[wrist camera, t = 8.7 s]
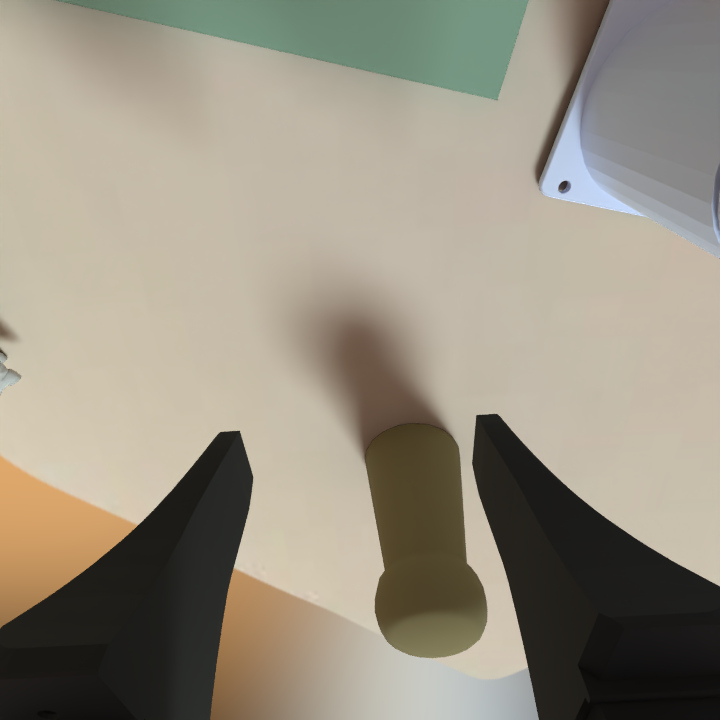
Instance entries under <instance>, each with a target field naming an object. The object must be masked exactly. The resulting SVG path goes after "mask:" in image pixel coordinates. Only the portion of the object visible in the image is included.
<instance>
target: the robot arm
mask: <svg viewBox="0 0 720 720" xmlns="http://www.w3.org/2000/svg"><path fill="white" fill-rule="evenodd" d="M563 181H567V182H568V184H567V187H566V188H565V189H564V190H563V191H558V186H559V185H560V183H561V182H563ZM538 186H539V190H540V191H541V193H542V194H544V195H546V196H548V197H552V198H557V199H562V200H567V201H572V202H576V203H581V204H586V205H591V206H596V207H601V208H606V209H611V210H615V211H620V212H625V213H630V214H635V215H640V216H645V217H648V218H649V219H651V220H653V221H655V222H656V223H658V224H660V225H662V226H663V227H665V228H667V229H669V230H670V231H672V232H674V233H676V234H677V235H679V236H681V237H682V238H684V239H686V240H688V241H689V242H691V243H693V244H695V245H696V246H698V247H700V248H702V249H703V250H705V251H707V252H708V253H710V254H712V255H714V256H715V257H717V258H719V259H720V0H610V2H609V5H608V7H607V10H606V12H605V15H604V17H603V20H602V22H601V25H600V28H599V30H598V33H597V35H596V38H595V40H594V43H593V45H592V48H591V50H590V53H589V56H588V58H587V61H586V63H585V66H584V68H583V71H582V73H581V76H580V78H579V81H578V84H577V86H576V89H575V91H574V94H573V96H572V99H571V101H570V104H569V106H568V109H567V112H566V114H565V117H564V119H563V122H562V124H561V127H560V129H559V132H558V134H557V137H556V140H555V142H554V145H553V147H552V150H551V152H550V155H549V157H548V160H547V163H546V165H545V168H544V170H543V173H542V175H541V178H540V180H539V185H538ZM472 465H473V470H474V474H475V479H476V484H477V488H478V492H479V496H480V499H481V502H482V505H483V508H484V511H485V514H486V516H487V519H488V522H489V525H490V528H491V531H492V533H493V536H494V539H495V542H496V545H497V548H498V550H499V553H500V556H501V559H502V562H503V565H504V568H505V572H506V575H507V578H508V582H509V586H510V590H511V594H512V598H513V602H514V607H515V611H516V615H517V619H518V624H519V628H520V632H521V636H522V641H523V645H524V650H525V654H526V659H527V664H528V668H529V673H530V678H531V682H532V686H533V692H534V697H535V702H536V707H537V712H538V717H539V720H720V586H718V585H716V584H714V583H712V582H710V581H709V580H707V579H705V578H703V577H701V576H699V575H697V574H695V573H693V572H692V571H690V570H688V569H686V568H684V567H682V566H680V565H678V564H677V563H675V562H673V561H671V560H670V559H668V558H666V557H665V556H663V555H661V554H660V553H658V552H656V551H655V550H653V549H651V548H650V547H648V546H646V545H645V544H643V543H642V542H640V541H639V540H637V539H635V538H634V537H632V536H631V535H630V534H628V533H627V532H625V531H624V530H622V529H621V528H619V527H618V526H616V525H615V524H613V523H612V522H611V521H609V520H608V519H606V518H605V517H604V516H602V515H601V514H600V513H598V512H597V511H596V510H594V509H593V508H592V507H591V506H589V505H588V504H587V503H586V502H584V501H583V500H582V499H581V498H579V497H578V496H577V495H576V494H575V493H574V492H572V491H571V490H570V489H569V488H568V487H567V486H566V485H565V484H563V483H562V482H561V481H560V480H559V479H558V478H557V477H556V476H555V475H554V474H553V473H552V472H551V471H550V470H549V469H548V468H547V467H546V466H545V465H544V464H543V463H542V462H541V461H540V460H539V459H538V458H537V457H536V456H535V455H534V454H533V453H532V452H531V451H530V450H529V449H528V448H527V447H526V446H525V445H524V444H523V442H522V441H521V440H520V439H519V438H518V437H517V436H516V435H515V434H514V432H513V431H512V430H511V429H510V428H509V427H508V425H507V424H506V423H505V422H504V421H503V420H502V418H501V417H500V416H499V415H498V414H488V415H476V426H475V438H474V449H473V460H472ZM252 484H253V474H252V471H251V468H250V464H249V461H248V457H247V454H246V451H245V447H244V444H243V440H242V437H241V434H240V431H229V432H220V433H219V434H218V435H217V436H216V437H215V439H214V440H213V441H212V442H211V444H210V445H209V446H208V447H207V449H206V450H205V451H204V452H203V454H202V455H201V456H200V457H199V459H198V460H197V461H196V462H195V464H194V465H193V466H192V467H191V468H190V470H189V471H188V472H187V473H186V474H185V476H184V477H183V478H182V479H181V480H180V482H179V483H178V484H177V485H176V486H175V487H174V489H173V490H172V491H171V492H170V493H169V494H168V495H167V496H166V497H165V498H164V499H163V501H162V502H161V503H160V504H159V505H158V506H157V507H156V508H155V509H154V510H153V511H152V512H151V513H150V514H149V515H148V516H147V517H146V518H145V519H144V520H143V521H142V522H141V523H140V524H139V525H138V526H137V527H136V528H135V529H134V530H133V531H132V532H131V533H129V535H127V536H126V537H125V538H124V539H123V540H122V541H121V542H119V543H118V544H117V545H116V546H114V547H113V548H112V549H111V550H110V551H109V552H107V553H106V554H105V555H104V556H102V557H101V558H100V559H99V560H98V561H97V562H95V563H94V564H93V565H91V566H90V567H89V568H88V569H86V570H85V571H84V572H82V573H81V574H80V575H78V576H77V577H76V578H74V579H73V580H71V581H70V582H69V583H67V584H66V585H64V586H63V587H62V588H60V589H59V590H57V591H56V592H55V593H53V594H52V595H50V596H49V597H47V598H46V599H44V600H43V601H41V602H40V603H38V604H37V605H35V606H33V607H32V608H30V609H29V610H27V611H26V612H24V613H23V614H21V615H19V616H18V617H16V618H15V619H13V620H12V621H10V622H9V623H7V624H5V625H3V626H2V627H1V629H0V720H210V714H211V704H212V696H213V688H214V679H215V672H216V663H217V656H218V649H219V643H220V636H221V629H222V622H223V616H224V610H225V604H226V598H227V592H228V588H229V583H230V579H231V575H232V572H233V568H234V564H235V560H236V557H237V553H238V549H239V546H240V542H241V538H242V534H243V531H244V527H245V523H246V519H247V515H248V511H249V506H250V499H251V492H252Z"/></svg>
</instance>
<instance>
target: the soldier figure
mask: <svg viewBox="0 0 720 720" xmlns="http://www.w3.org/2000/svg"><path fill="white" fill-rule="evenodd" d="M6 360H7V356H5V355H4V354H3V353H1V352H0V394H1V393H2V390H3V389H4V388H6V387H7V386H8V385H14V384H15V383H17V382H18V381H19V380H20V379H21V375H20V374H18V373H17V372H16V371H14V370H12V369H7V368H6V367H5V366H4V365H3V364H2V363H4V362H5V361H6Z"/></svg>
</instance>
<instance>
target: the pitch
mask: <svg viewBox="0 0 720 720" xmlns="http://www.w3.org/2000/svg"><path fill="white" fill-rule="evenodd" d="M56 1H61V2H65V3H70V4H74V5H78V6H83V7H87V8H92V9H96V10H101V11H105V12H109V13H114V14H118V15H123V16H127V17H131V18H136V19H140V20H145V21H149V22H154V23H158V24H162V25H167V26H171V27H176V28H180V29H185V30H189V31H193V32H198V33H202V34H207V35H211V36H216V37H220V38H224V39H229V40H233V41H238V42H242V43H247V44H251V45H255V46H260V47H264V48H269V49H273V50H278V51H282V52H286V53H291V54H295V55H300V56H304V57H309V58H313V59H317V60H322V61H326V62H331V63H335V64H340V65H344V66H348V67H353V68H357V69H362V70H366V71H371V72H375V73H379V74H384V75H388V76H393V77H397V78H402V79H406V80H410V81H415V82H419V83H424V84H428V85H432V86H437V87H441V88H446V89H450V90H455V91H459V92H463V93H468V94H472V95H477V96H481V97H486V98H490V99H494V100H497V99H498V96H499V93H500V90H501V86H502V83H503V80H504V77H505V74H506V70H507V67H508V64H509V61H510V58H511V54H512V51H513V48H514V45H515V42H516V39H517V35H518V32H519V29H520V26H521V23H522V19H523V16H524V13H525V10H526V7H527V3H528V0H56Z"/></svg>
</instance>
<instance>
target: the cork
mask: <svg viewBox="0 0 720 720" xmlns="http://www.w3.org/2000/svg"><path fill="white" fill-rule="evenodd" d="M365 463H366V468H367V474H368V479H369V485H370V490H371V496H372V501H373V507H374V513H375V518H376V524H377V529H378V535H379V540H380V546H381V551H382V557H383V563H384V568H385V571H384V573H383V574H382V575H381V577H380V579H379V583H378V588H377V592H376V596H375V614H376V617H377V621H378V625H379V627H380V630H381V632H382V634H383V635H384V637H385V639H386V640H387V642H388V643H389V644H391V645H392V646H393V647H394V648H396V649H398V650H400V651H402V652H404V653H406V654H408V655H412V656H417V657H424V658H438V657H447V656H451V655H455V654H458V653H460V652H463V651H465V650H467V649H468V648H470V647H471V646H472V645H474V644H475V643H476V642H477V641H478V640H480V638H481V636H482V634H483V632H484V629H485V626H486V623H487V602H486V597H485V593H484V588H483V586H482V584H481V582H480V580H479V578H478V576H477V574H476V573H475V572H474V571H473V569H472V568H471V567H470V566H469V565H468V564H467V559H466V543H465V528H464V512H463V497H462V481H461V466H460V454H459V447H458V445H457V443H456V442H455V440H454V439H453V437H452V436H450V435H449V434H448V433H446V432H445V431H443V430H442V429H439V428H436V427H434V426H431V425H426V424H413V423H412V424H406V425H400V426H396V427H393V428H391V429H389V430H386V431H384V432H382V433H381V434H380V435H379V436H377V437H376V438H375V439H374V440H373V441H372V442H371V444H370V446H369V447H368V449H367V452H366V458H365Z"/></svg>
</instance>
